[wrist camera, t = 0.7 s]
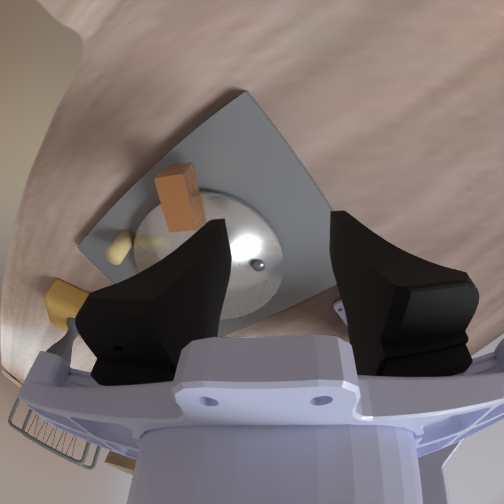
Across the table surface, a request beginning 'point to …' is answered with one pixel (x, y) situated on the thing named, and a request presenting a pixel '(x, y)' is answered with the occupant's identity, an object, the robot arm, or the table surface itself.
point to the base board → (242, 187)
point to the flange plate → (238, 229)
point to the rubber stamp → (64, 314)
